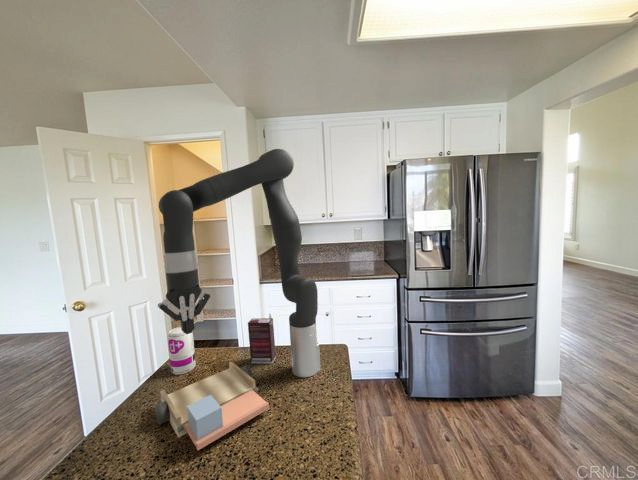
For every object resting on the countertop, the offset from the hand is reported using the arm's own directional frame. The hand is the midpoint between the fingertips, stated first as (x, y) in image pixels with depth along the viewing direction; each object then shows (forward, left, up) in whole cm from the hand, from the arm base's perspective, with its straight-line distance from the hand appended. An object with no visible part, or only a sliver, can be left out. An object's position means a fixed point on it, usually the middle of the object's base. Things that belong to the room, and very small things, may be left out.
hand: (188, 332), depth 73 cm
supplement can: (+5, -31, -25) cm, 40 cm away
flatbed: (-4, -6, -24) cm, 25 cm away
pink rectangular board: (-7, +2, -22) cm, 23 cm away
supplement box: (-23, -23, -25) cm, 41 cm away
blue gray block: (-3, +8, -22) cm, 23 cm away
